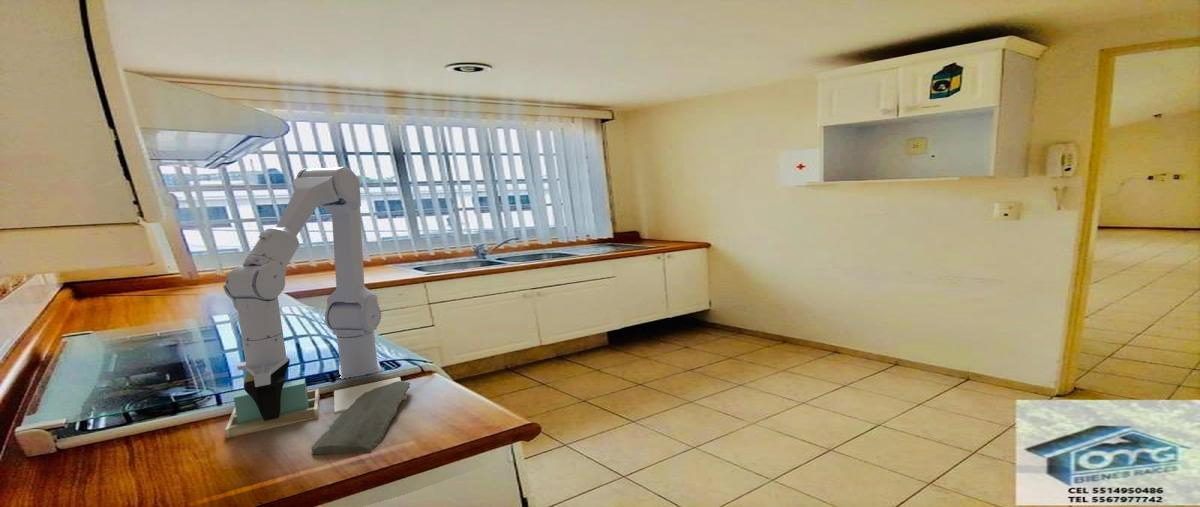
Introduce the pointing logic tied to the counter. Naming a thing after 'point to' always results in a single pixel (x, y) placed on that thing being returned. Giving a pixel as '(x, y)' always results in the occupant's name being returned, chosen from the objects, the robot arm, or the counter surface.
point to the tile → (357, 394)
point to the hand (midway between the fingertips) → (274, 410)
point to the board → (290, 401)
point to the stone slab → (363, 421)
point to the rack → (284, 419)
